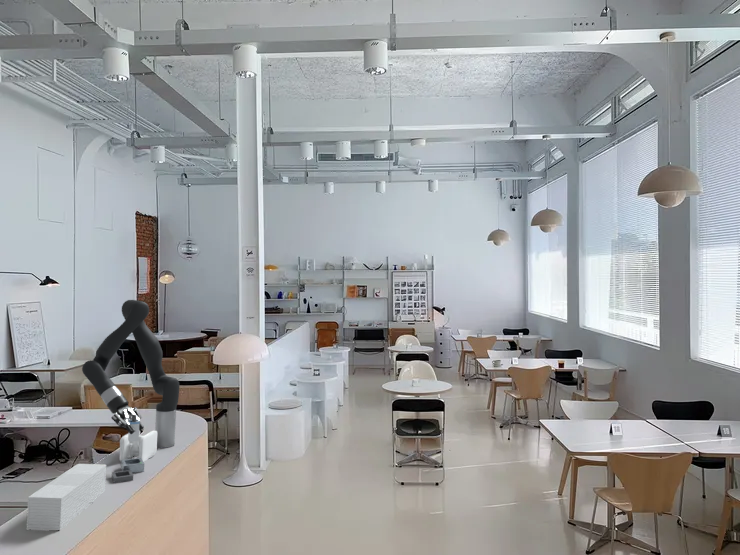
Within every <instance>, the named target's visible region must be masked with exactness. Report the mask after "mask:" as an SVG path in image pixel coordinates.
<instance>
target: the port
mask: <svg viewBox="0 0 740 555" xmlns="http://www.w3.org/2000/svg"><path fill="white" fill-rule="evenodd" d="M126 470H131V472H132V474H136V473H143V472H145V462H143V460H142V458H137V457H136V458H134V457H133V458H132V459H126V460H121V461H120V471H126Z"/></svg>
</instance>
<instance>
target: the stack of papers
mask: <svg viewBox="0 0 740 555" xmlns="http://www.w3.org/2000/svg"><path fill="white" fill-rule="evenodd" d="M106 477H107V464H99V463H95V464H94V463H77V464H75V465H74V466H73V467H71V468H70V469H68V470H66V471H65V472H63V473H62V474H61V475H59V476H57V477H56V478H55V479H53V480H51V481H50V482H49V483H47V484H46V485H44V486H43V487H41V488H39V489H38V490H36V491H35V492H34V493H32V494H31V495H29V496H27V510H26V511H27V515H26V530H27V529H31V530H30V531H49V530H61V529H62V528H63V527H64V526H65V525H66V526H68V525H69V524H70V523H71V522H72V521H73V520H75V519H76V518H77V517H78V516H79V515H81V514H82V513H83V512H84V511H85V510H86V509H88V506H89V505H90V504H91V503H92V504H93V503H94V501H95V500H96V499H97V498H99V497H100V496H101V495H102V494H103V493H105V492H106V479H107V478H106ZM92 504H91V505H92ZM91 505H90V506H91ZM90 506H89V507H90ZM84 509H85V510H84ZM83 510H84V511H83ZM82 511H83V512H82ZM81 512H82V513H81ZM78 514H79V515H78ZM77 515H78V516H77ZM76 516H77V517H76ZM75 517H76V518H75ZM74 518H75V519H74ZM72 519H73V520H72ZM71 520H72V521H71ZM70 521H71V522H70ZM69 522H70V523H69ZM68 523H69V524H68ZM67 524H68V525H67ZM66 526H65V527H66ZM65 527H64V528H65ZM64 528H63V529H64ZM63 529H62V530H63ZM62 530H61V531H62Z"/></svg>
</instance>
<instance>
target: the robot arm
mask: <svg viewBox="0 0 740 555" xmlns="http://www.w3.org/2000/svg"><path fill="white" fill-rule="evenodd" d="M121 313H122V316H123V318H124V322H122V324H120V326H118V327H117V328H116V329H115V330H114V331H112V332H111V333H109V335H107V336H106V337H105V338H104V340H103V341H102V342H101V344H100V345H99V346H98V348H97V349H96V351H95V356H94V358H93V359H92V360H91V359H89V360H87V361H85V362H83V363H84V364H82V367H81V369H82V370H81V371H82V373H83V375H84V376H85V377H86V379H87V380H88V381H89V382H90V383H91V385H92V386H93V387H94V389H95V391H96V392H97V394H98V395H99V396H100V398H101V399H102V401H103V403H104V405H106V407H107V409H108V410H109V411H110V412H111V414H112V416H111V420H112V421H113V422H114V423H115V424H116V425H117V426H118V427H119V428H125V429H126V430H127V432H129V433H130V434H133V433H134V432H135V430H134V428H133V427H132V425H131V424H130V423H129V420H132V415H137V420H139V421H140V424H139V430H140V432H141V431H142V430H143V429H145V428H144V425H143V423H142V422H141V419H142V418H143V417H142V415H141V413H140V411H139V409H138V408H137V407H136V406H135V407H133V408H132V407H130V406H129V400H128V399H127V398H126V397H125V396H124V394H123V392H122V391H121V390H120V389H119V388H118V387H117V386H116V384H115V383H114V382H113V381H112V379H111V378H110V377H109V376H108V375H107V373H106V372H105V371H106V369H107V367H108V365H109V364H110V361H111V359H112V358H113V357H114V356H115V354H116V353H117V352H118V350H119V349H120V347H121V345H122V344H124V342H125V341H126V340H127V338H128V337H130V335H131V334H132V335H133V339H134V340H135V342H136V345H137V348H138V351H139V353H140V356H141V358H142V359H143V361H144V365H145V366H146V369H147V371H148V374H149V378H150V381H151V385H152V388H153V391H154V392H155V393H156V394H157V395H160V396H162V400H161V402H157V404H156V405H155V427H154V431H157V448H163V449H164V448H171V447H174V446H175V444H176V443H175V441H176V440H175V439H176V423H177V422H176V418H177V406H178V403H179V397H180V381H179V380H178V379H177V378H175V377H173V376H167V375H166V372H165V371H164V368H163V365H162V364H163V363H162V362H163V357H164V356H163V355H164V354H163V353H164V352H163V350H162V347H161V343H160V342H159V339H158V338H157V337H156V335H155V334H154V332H152V330H151V329H150V328H149V327H148V325H147V323H146V322H145V320H146V319H147V317H148V315H149V313H150V307H149V305H148V303H146V302H145V301H142V300H136V299H127V300H125V301H124V302H123V303H122V306H121Z"/></svg>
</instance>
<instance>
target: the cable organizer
mask: <svg viewBox="0 0 740 555" xmlns="http://www.w3.org/2000/svg"><path fill="white" fill-rule="evenodd" d="M157 448H158V447H157V431H155V430H151V431H150V432H148V433H146V434H145V435H141V431H140V430H139V441H132V442H129V440H128V433H126V434H124V435H122V437H121V438H120V439H119V461H120V462H121V460H126V459H133V458H134V457H136V458H142V460H143V462H144V463H145V462H146V461H147V460H149V459H151V458H153V457H154V456H155V455H156V454H157ZM133 456H134V457H133Z"/></svg>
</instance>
